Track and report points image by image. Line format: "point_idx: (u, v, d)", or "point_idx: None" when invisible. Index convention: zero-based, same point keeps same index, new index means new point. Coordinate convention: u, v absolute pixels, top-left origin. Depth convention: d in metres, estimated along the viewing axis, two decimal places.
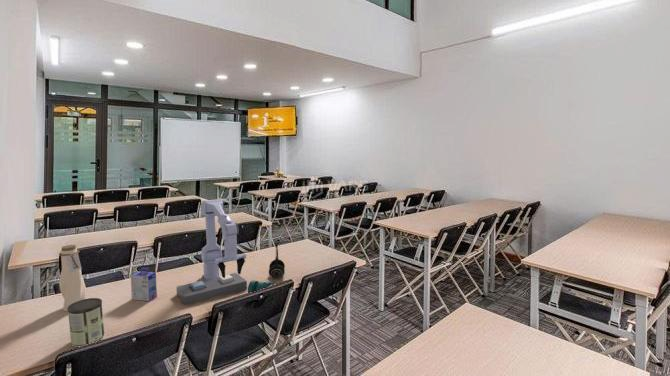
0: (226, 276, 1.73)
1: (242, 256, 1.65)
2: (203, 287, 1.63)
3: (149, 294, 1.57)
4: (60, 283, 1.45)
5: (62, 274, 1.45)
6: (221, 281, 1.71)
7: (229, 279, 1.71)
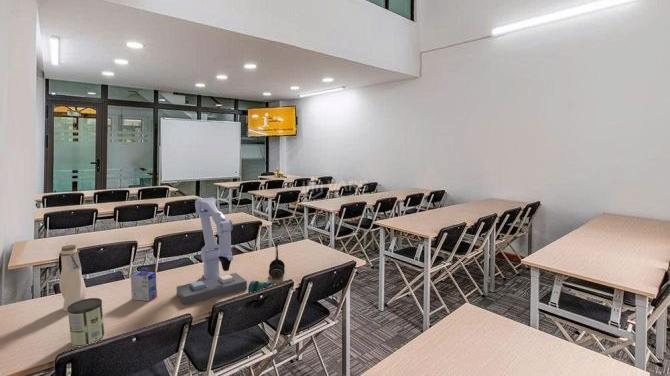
0: (226, 276, 1.73)
1: (226, 256, 1.66)
2: (203, 287, 1.63)
3: (149, 294, 1.57)
4: (60, 283, 1.45)
5: (62, 274, 1.45)
6: (221, 281, 1.71)
7: (229, 279, 1.71)
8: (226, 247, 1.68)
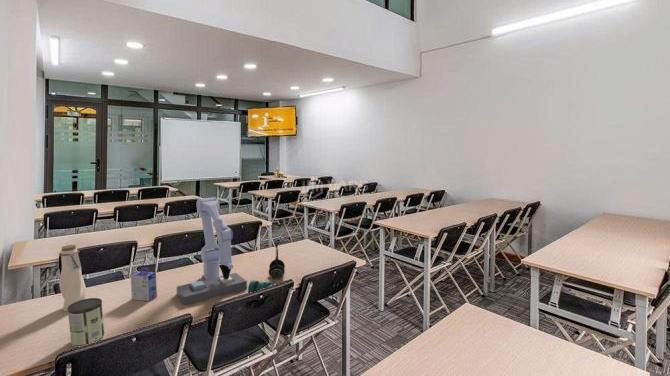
0: None
1: (226, 265, 1.66)
2: (203, 287, 1.63)
3: (149, 294, 1.57)
4: (60, 283, 1.45)
5: (62, 274, 1.45)
6: (221, 282, 1.71)
7: (229, 280, 1.71)
8: (226, 256, 1.68)
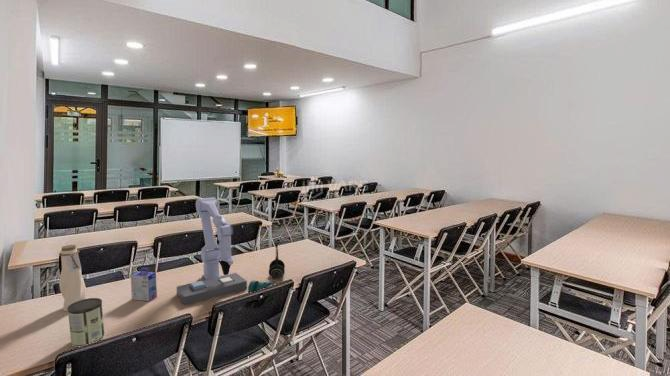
0: (226, 278, 1.73)
1: (226, 261, 1.66)
2: (203, 287, 1.63)
3: (149, 294, 1.57)
4: (60, 283, 1.45)
5: (62, 274, 1.45)
6: (221, 283, 1.71)
7: (229, 281, 1.71)
8: (226, 251, 1.68)
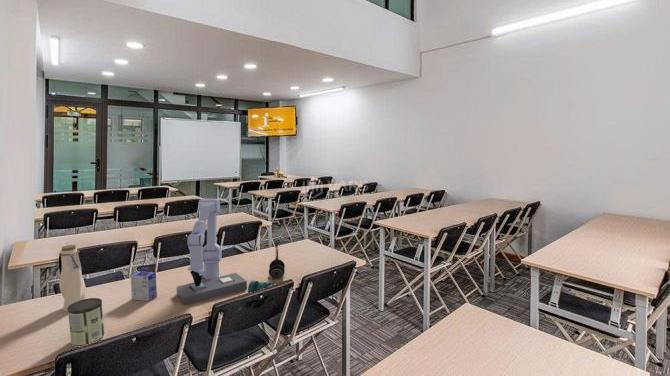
0: (226, 278, 1.73)
1: (197, 271, 1.58)
2: (203, 288, 1.63)
3: (149, 294, 1.57)
4: (60, 283, 1.45)
5: (62, 274, 1.45)
6: (221, 283, 1.71)
7: (229, 281, 1.71)
8: (197, 261, 1.60)
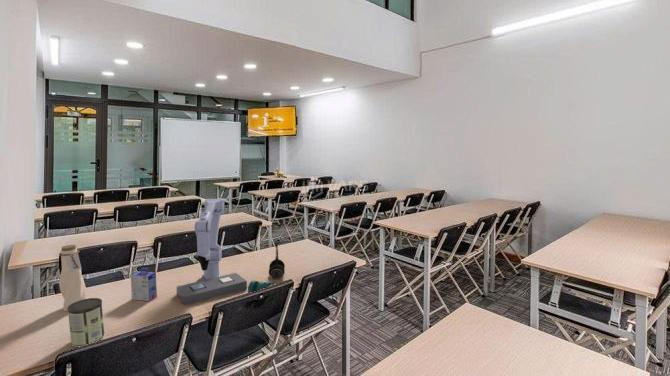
0: (226, 278, 1.73)
1: (204, 256, 1.65)
2: None
3: (149, 294, 1.57)
4: (60, 283, 1.45)
5: (62, 274, 1.45)
6: (221, 283, 1.71)
7: (229, 281, 1.71)
8: (204, 247, 1.67)
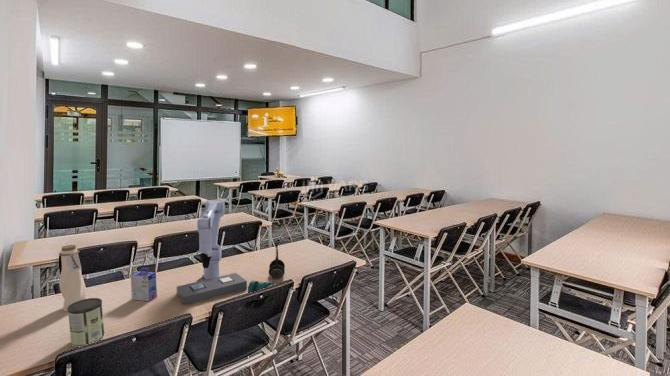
0: (226, 278, 1.73)
1: (206, 253, 1.67)
2: None
3: (149, 294, 1.57)
4: (60, 283, 1.45)
5: (62, 274, 1.45)
6: (221, 283, 1.71)
7: (229, 281, 1.71)
8: (206, 244, 1.69)
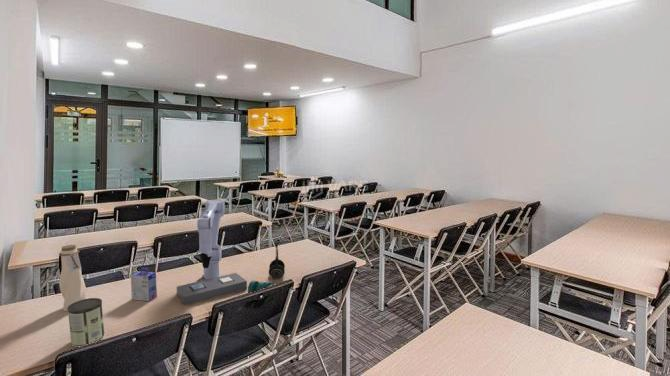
0: (226, 278, 1.73)
1: (206, 253, 1.67)
2: None
3: (149, 294, 1.57)
4: (60, 283, 1.45)
5: (62, 274, 1.45)
6: (221, 283, 1.71)
7: (229, 281, 1.71)
8: (206, 244, 1.69)
